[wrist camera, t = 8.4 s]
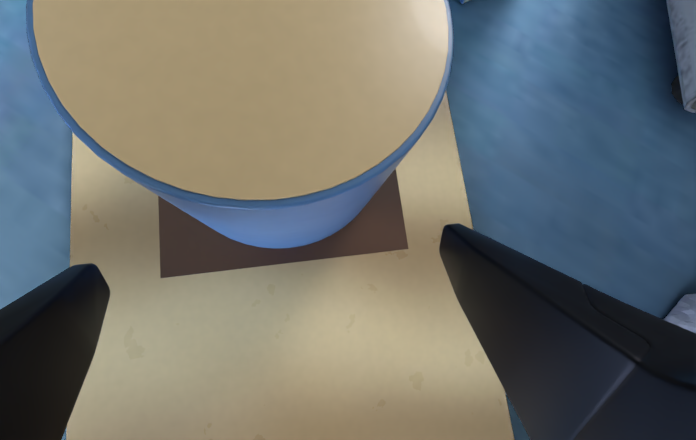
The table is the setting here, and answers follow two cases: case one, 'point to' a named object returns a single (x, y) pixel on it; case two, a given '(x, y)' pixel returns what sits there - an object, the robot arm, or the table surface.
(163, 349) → the birch board
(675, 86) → the vintage electronic device
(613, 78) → the table surface
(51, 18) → the blue cylinder
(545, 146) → the table surface
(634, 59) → the table surface
